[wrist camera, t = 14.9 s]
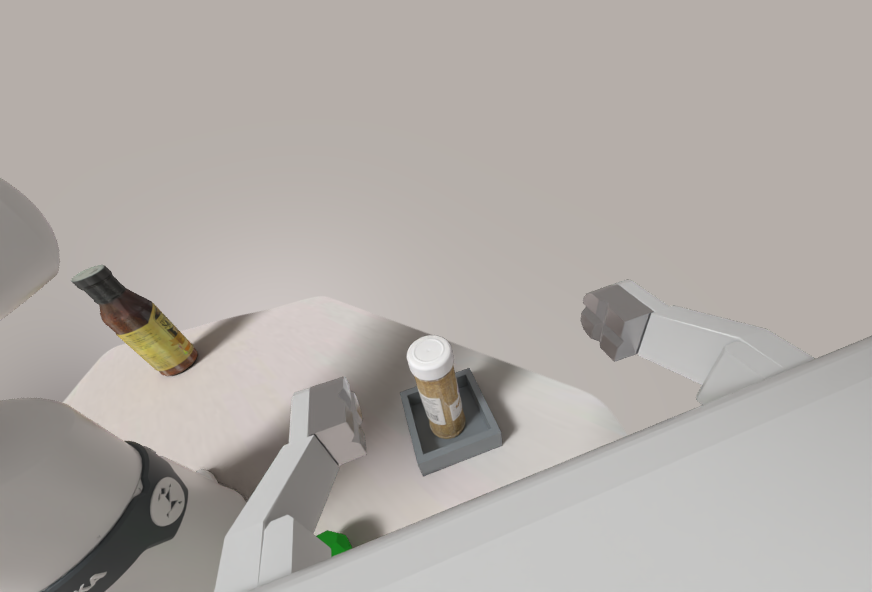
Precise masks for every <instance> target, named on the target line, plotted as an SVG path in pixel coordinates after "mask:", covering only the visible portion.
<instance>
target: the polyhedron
mask: <svg viewBox="0 0 872 592" xmlns="http://www.w3.org/2000/svg"><path fill="white" fill-rule="evenodd" d="M316 537H318V538H319V539H320V540H321V541H323V542H324V543H325V544H326V545H327V546H329V547H330V548H331V557H333V556H335V555H338V554H340V553H343V552H345V551H348V550H350V549H352V546H351V544H350V542H349V540H348V538H347V537H346V535H343V534H340V533H336V532H332V531H328V530H327V531H325V532H323V533H321V534H319V535H317V536H316Z"/></svg>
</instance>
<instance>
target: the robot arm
mask: <svg viewBox="0 0 872 592" xmlns="http://www.w3.org/2000/svg"><path fill="white" fill-rule="evenodd" d="M59 263H60V259H59V248H58V243H57V240H56V237H55V235H54V232H53V230H52V228H51V226H50V225H49V223H48V222H47V220H46V218H45V217H44V216H43V214H42V213H41V212H40V211H39V209H38V208H37V207H36V206H35V205H34V204H33V203H32V202H31V201H30V200H29V199H28V198H27V197H26V196H25V195H23V194H22V193H21V192H20V191H19V190H17V189H16V188H15V187H13V186H12V185H10V184H9V183H7V182H6V181H4V180H3V179H1V178H0V321H1V320H2V319H3V318H5V317H6V316H7V315H8V314H9V313H11V312H12V311H13V310H15V309H16V308H17V307H19V306H20V305H21V304H23V303H24V302H25V301H26V300H27V299H29V298H30V297H31V296H32V295H33V294H35V293H36V292H37V291H38V290H39V289H41V288H42V287H43V286H44V285H45V284H47V283H48V282H49V281H50V280H51V279H53V278H54V277H55V276H56V275H57V273H58V271H59ZM583 303H584V305H585V306H586V308H585V309H584V310H583V311H582V313H581V323H582V326H583V329H584V330H585V332H586V333H587V335H588V336H589V337H590V338H591V339H594V340H597V341H600V348H601V349H602V350H603V351H604V352H605V353H606V354H607V355H608V356H609V357H610V358H611V359H612V360H613V361H618V360H621V359H623V358H626V357H629V356H632V355H635V354H638V356H640V357H643V358H645V359H647V360H649V361H651V362H653V363H656V364H658V365H660V366H662V367H665V368H667V369H669V370H671V371H673V372H675V373H678V374H680V375H682V376H684V377H686V378H688V379H690V380H693V381H695V382H697V383H699V384H701V385H702V387H701V389H700V390H699V392H698V394H697V398H696V400H697V401H698V402H699V403H700V404H702V406H699V407H697V408H694V409H692V410H689V411H687V412H685V413H682V414H680V415H677V416H675V417H673V418H670V419H667V420H665V421H663V422H660V423H658V424H656V425H653V426H650V427H648V428H645V429H643V430H641V431H638V432H636V433H633V434H631V435H628V436H626V437H623V438H621V439H619V440H616V441H614V442H611V443H609V444H606V445H604V446H601V447H599V448H597V449H594V450H592V451H589V452H587V453H584V454H582V455H579V456H577V457H575V458H572V459H570V460H567V461H565V462H562V463H560V464H557V465H555V466H553V467H550V468H548V469H545V470H543V471H540V472H538V473H535V474H533V475H531V476H528V477H526V478H523V479H521V480H518V481H516V482H513V483H511V484H509V485H506V486H504V487H501V488H499V489H496V490H494V491H491V492H489V493H487V494H484V495H482V496H479V497H477V498H474V499H472V500H470V501H467V502H465V503H462V504H460V505H457V506H455V507H452V508H450V509H448V510H445V511H443V512H440V513H438V514H435V515H433V516H430V517H428V518H426V519H423V520H421V521H418V522H416V523H413V524H411V525H409V526H406V527H404V528H401V529H399V530H396V531H394V532H391V533H389V534H387V535H384V536H382V537H379V538H377V539H374V540H372V541H369V542H367V543H365V544H362V545H360V546H357V547H355V548H352V549H350V550H348V551H345V552H343V553H340V554H338V555H335V556H333V557H331V548H330V547H329V546H327V545H326V544H325V543H324V542H323V541H321V540H320V539H319V538H318V537H316V536H315V535H314V534H313V533H314V531H315V528H316V526H317V523H318V521H319V518H320V516H321V513H322V511H323V508H324V506H325V503H326V500H327V498H328V495H329V493H330V490H331V488H332V485H333V483H334V480H335V478H336V475H337V473H338V470H339V466H340V465H342V464H345V463H347V462H350V461H352V460H355V459H357V458H359V457H362V456H364V455H367V452H366V444H365V436H364V433H363V431H362V429H361V427H360V425H361V423H362V421H363V420H362V413H361V409H360V405H359V402H358V399H357V397H356V395H355V393H354V392H352V391H350V385H349V382H348V381H347V379H346V377H341V378H338V379H335V380H332V381H329V382H326V383H322V384H319V385H316V386H313V387H310V388H307V389H304V390H301V391H298V392H295V393H294V394H293V397H292V403H291V417H290V431H289V444H286V445H284V446H283V447H282V449H281V450H280V452H279V453H278V455H277V456H276V458H275V459H274V461H273V463H272V464H271V466H270V467H269V469H268V470H267V472H266V474H265V475H264V477H263V478H262V480H261V481H260V483H259V484H258V486H257V488H256V489H255V491H254V492H253V494H252V495H251V497H250V499H249V500H248V502H247V503H246V502H245V500H244V498H243V497H242V496H241V495H240V494H239V493H238V492H236V491H235V490H233V489H231V488H227V487H225V486H222V485H220V484H218V482H217V480H216V478H215V477H214V475H213V474H212V473H211V472H209V471H207V470H204V469H201V470H198V471H196V472H195V471H193V470H191V469H189V468H187V467H185V466H183V465H181V464H179V463H176V462H174V461H172V460H170V459H168V458H166V457H162V456H158V455H157V454H156V452H155V451H153V450H152V449H150V448H148V447H145V446H142V445H140V444H138V443H136V442H132V441H123V440H121V439H120V438H118V437H117V436H115V435H114V434H112V433H111V432H109V431H108V430H106V429H104V428H103V427H101V426H100V425H98V424H97V423H95V422H94V421H92V420H91V419H89V418H87V417H86V416H84V415H83V414H81V413H80V412H78V411H77V410H75V409H74V408H72V407H71V406H69V405H67V404H65V403H62V402H59V401H55V400H49V399H42V398H18V399H9V400H2V401H0V592H872V336H870V337H868V338H865V339H863V340H861V341H858V342H856V343H853V344H851V345H848V346H846V347H843V348H841V349H838V350H836V351H834V352H831V353H829V354H826V355H824V356H821V357H819V358H817V359H815V358H814V357H812V356H810V355H809V354H807V353H805V352H804V351H802V350H801V349H799V348H797V347H795V346H794V345H792V344H791V343H789V342H787V341H786V340H784V339H782V338H781V337H779V336H777V335H776V334H774V333H773V332H771V331H769V330H768V329H765V328H761V327H757V326H754V325H750V324H746V323H742V322H738V321H734V320H730V319H726V318H722V317H718V316H714V315H710V314H706V313H702V312H698V311H694V310H691V309H687V308H683V307H679V306H675V305H673V306H670V307H669V306H668V305H666V304H665V303H664V302H662V301H661V300H659V299H658V298H657V297H655V296H654V295H652V294H651V293H649V292H648V291H646V290H645V289H644V288H642V287H641V286H640V285H638V284H637V283H635V282H634V281H632V280H629V279H627V280H624V281H621V282H618V283H615V284H613V285H609V286H606V287H604V288H601V289H598V290H595V291H592V292H590V293H587V294H586V295H585V296H584V299H583Z"/></svg>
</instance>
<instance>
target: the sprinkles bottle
mask: <svg viewBox="0 0 872 592" xmlns="http://www.w3.org/2000/svg"><path fill="white" fill-rule="evenodd" d="M407 361H408V364H409V368H410V370H411V372H412V374H413V375H414V377H415V380H416V383H417V388H418V391H419V394H420V397H421V400H422V403H423V406H424V409H425V412H426V414H427V417H428V419H429V424H430V428H431V430H432V432H433V433H434V434H435V435H436V436H438V437H440V438H443V439H450V438H454V437H456V436H458V435H459V434H460V433H461V431H462V430H463V428H464V426H465V415H464V412H463V409H462V402H461V398H460V393H459V389H458V384H457V379H456V377H455V372H454V367H453V363H454V357H453V352H452V348H451V345H450V343H449V342H448V341H447V340H446V339H445V338H443V337H440V336H436V335H428V336H424V337H421V338H419V339H417V340H416V341H414V342H413V343H412V344H411V345H410V347H409V349H408V351H407Z"/></svg>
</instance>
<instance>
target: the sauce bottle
mask: <svg viewBox="0 0 872 592" xmlns="http://www.w3.org/2000/svg"><path fill="white" fill-rule="evenodd" d="M71 281H72V282H73V283H74V284H75V285H76V286H77V287H78V288H79V289H81V290H84V291H85V292H86V293H87V294H88V295H89V296H90V297H91V298H92V299H94V302H96V303H97V304H99V305H100V312H101V313H100V315H101V317H102V320H103V322H104V323H105V324H106V325H107V326H109V327H110V328H111V329H112V330H113V331H114V332H116V335H117V336H118V337H120V338H121V339H122V340H123V341H124V342H125V343H126V344H127V345H129V346H130V347H131V348H132V349H133V350H134V351H135V352H136V353H138V354H139V355H140V356H141V357H142V358H143V359H144V360H145V361H147V362H148V363H149V364H150V365H151V366H152V367H153V368H154V369H156V370H157V371H159V372H160V373H161V374H162V375H165V376H173V375H176V374H178V373H181V372H183V371H184V370H186V369H187V368H188V367H190V366H191V365H192V364H193V363H194V361H195V360H196V358H197V351H196V350H195V348H194V347H193V345H192V344H191V343H190V342H189V341H188V340H187V339H186V337H185V336H184V335H183V334H182V333H181V332H180V331H179V330H178V329H177V328H176V327H175V326H174V325H173V324H172V323H171V322H170V321H169V319H168V318H167V317H166V316H165V315H164V314H163V313H162V312H161V311H160V310H159V309H158V308H157V307H156V306H155V305H154V304H153V303H152V302H151V301H149V300H147V299H146V298H144V297H142V296H139V295H137V294H136V293H134V292H132V291H130V290H128V289H126V288H125V287H124V286H123V285H122V284H120V283H119V282H118V280H117V279H116V278H114V276H113V275H112V273H111V271H110V270H109V269H108V268H107V267H106V266H104V265H99V266H94V267H91V268H89V269H86V270H84V271H82V272H80V273H79V274H77V275H76V276H74V277H73V278H72V280H71Z"/></svg>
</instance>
